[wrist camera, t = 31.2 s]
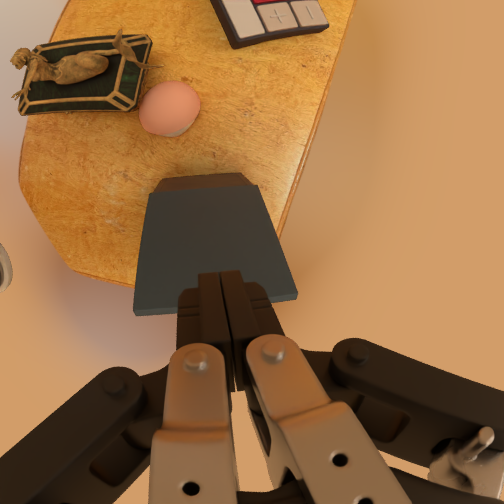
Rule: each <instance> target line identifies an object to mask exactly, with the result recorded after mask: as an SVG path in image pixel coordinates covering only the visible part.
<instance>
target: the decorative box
mask: <svg viewBox="0 0 504 504" xmlns="http://www.w3.org/2000/svg"><path fill="white" fill-rule="evenodd" d="M152 44H153V43H152V40H151V39H150V38H149V37H148V35H142V34H133V35H122V29H120V30H119V31H118V33H117V35H106V36H94V37H84V38H76V39H69V40H63V41H57V42H52V43H47V44H42V45H37V46H36V47H35V48H34V49H33V50H32V52H30V50H29V49H27V48H20V49H18V50H17V51H16V52H15V54H14V56H13V57H12V59H11V60H10V62H12V63H13V65H15V67H16V68H17V69H19V70H20V69H21V68H22V67H23V66H24V65H26V66H27V68H26V72H25V76H24V80H23V85H22V89H21V90H20V91H19V92H17V93H15V94H14V95H13V96H12V98H14V97H15V95H16V96H17V95H18V96H17V97H16V99H17V98H18V97H19V96H20V100H19V106H18V111H19V113H20V115H21V116H26V115H35V114H46V113H61V112H66V114H68V112H70V114H72V112H96V111H99V112H130V111H135V110H136V109H138V108H139V107H140V103H141V101H142V96H143V91H144V87H145V82H146V78H147V74H148V70H149V69H153V68H159V67H164V66H165V65H149V63H148V62H147V61H148V58H149V54H150V50H151V47H152ZM16 99H15V100H16Z"/></svg>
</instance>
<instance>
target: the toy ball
mask: <svg viewBox="0 0 504 504" xmlns="http://www.w3.org/2000/svg"><path fill="white" fill-rule="evenodd" d="M200 105H201V104H200V99H199V97H198V95H197V93H196V92H195V91H194V90H193V89H192V88H191V87H190V86H189V85H187V84H185V83H183V82H179V81H165V82H162V83H159V84H157V85H155V86H154V87H152V88H151V89H150V90H149V91H148V92H147V93H146V94H145V95H144V97H143V99H142V101H141V103H140V107H139V118H140V122H141V125H142V127H143V128H144V129H145V130H146V131H147V132H149V133H152V134H157V135H160V136H164V137H177V136H179V135H181V134H183V133H184V132H185V131H186V130H187V129H188V128H189V127H190V126H191V125H192V123H193V122H194V121H195V119H196V118H197V116H198V114H199V112H200Z"/></svg>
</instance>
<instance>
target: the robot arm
mask: <svg viewBox="0 0 504 504" xmlns="http://www.w3.org/2000/svg"><path fill="white" fill-rule="evenodd" d="M219 279H220V281H219ZM3 281H4V271H3V267H2V264H1V262H0V286H1V285H2V284H3ZM177 317H178V318H177V341H176V352H174V354H173V355H172V356H171V358H170V362H169V364H168V365H167V366H165V367H164V368H162V369H160V370H158V371H156V372H153V373H150V374H147V375H143V376H140V377H139V375H138V374H137V373H136V372H135V371H133V370H132V369H129V368H126V367H112V368H109V369H106V370H104V371H102V372H101V373H99V374H98V375H97V376H96V377H95V378H93V379H92V380H91V381H90V382H89V383H88V384H86V385H85V386H84V387H83V388H82V389H80V390H79V391H78V392H77V393H76V394H74V395H73V396H72V397H71V398H70V399H69V400H67V401H66V402H65V403H64V404H63V405H62V406H60V407H59V408H58V409H57V410H56V411H54V413H52V414H51V415H50V416H49V417H47V418H46V419H45V420H44V421H43V422H42V423H40V424H39V425H38V426H37V427H36V428H34V429H33V430H32V431H31V432H30V433H29V434H27V435H26V436H25V437H24V438H23V439H21V440H20V441H19V442H18V443H17V444H16V445H15V446H14V447H12V448H11V449H10V450H9V451H7V452H6V453H5V454H4V455H3V456H2V457H1V458H0V504H113V503H114V502H115V501H116V500H117V499H118V498H119V497H120V495H122V494H123V493H124V492H125V491H126V489H128V487H129V486H130V485H131V484H132V483H133V482H134V481H135V480H136V479H137V478H138V477H139V476H140V475H141V474H142V473H143V472H144V470H145V469H146V468H147V467H148V466H149V465H150V475H149V476H150V477H149V499H148V500H149V501H148V502H149V503H148V504H504V501H502V500H500V499H499V498H500V495H501V491H502V488H503V483H504V391H501V390H498V389H495V388H492V387H489V386H486V385H483V384H480V383H477V382H474V381H471V380H469V379H466V378H463V377H460V376H457V375H455V374H452V373H449V372H446V371H444V370H441V369H438V368H436V367H433V366H430V365H428V364H425V363H422V362H419V361H417V360H414V359H412V358H409V357H407V356H404V355H401V354H399V353H397V352H394V351H391V350H389V349H387V348H384V347H382V346H379V345H377V344H374V343H371V342H369V341H367V340H364V339H359V338H349V339H345V340H342V341H340V342H338V343H337V344H336V345H335V346H334V348H333V351H332V352H319V351H317V352H316V351H308V350H304V349H300V348H299V346H298V345H297V344H296V343H295V342H294V341H293V340H292V339H290V338H288V337H286V336H285V334H284V332H283V329H282V328H281V325H280V323H279V321H278V318H277V316H276V314H275V311H274V309H273V307H272V304H271V302H270V300H269V298H268V295H267V293H266V291H265V289H264V288H263V287H262V286H261V285H259V284H258V283H257V282H246V283H244V282H243V279H242V275H241V272H240V270H229V271H219V276H218V272H209V273H199V274H198V287H197V288H186V289H184V290H183V291H182V293H181V294H180V296H179V297H178V311H177ZM234 378H235V382H236V386H237V391H244V390H245V393H246V397H247V401H248V412H249V415H250V418H251V421H252V424H253V427H254V429H255V432H256V435H257V438H258V440H259V443H260V446H261V449H262V452H263V454H264V457H265V460H266V463H267V468H268V473H269V476H270V479H271V482H272V485H273V487H274V490H272V491H269V492H245V491H240V487H239V479H238V472H237V465H236V457H235V448H234V439H233V430H232V419H231V412H232V401H231V392H235V384H234ZM377 449H378V450H380V451H383V452H385V453H388V454H390V455H393V456H395V457H398V458H401V459H403V460H406V461H409V462H411V463H414V464H417V465H420V466H423V467H427V468H429V469H430V472H429V473H428V480H429V481H428V480H426V479H423V478H420V477H417V476H414V475H412V474H409V473H407V472H404V471H402V470H399V469H396V468H393V467H389V466H388V465H387V464H386V462H385V460H384V459H383V457H382V456H381V454H380V453H379V451H378V450H377Z"/></svg>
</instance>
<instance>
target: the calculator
mask: <svg viewBox="0 0 504 504" xmlns="http://www.w3.org/2000/svg"><path fill="white" fill-rule="evenodd" d="M210 1H211V3H212V5H213V7H214V9H215V12H216V14H217V16H218V18H219V20H220V22H221V24H222V27H223V29H224V31H225V33H226V35H227V38H228V40H229V42H230V45H231V47H232V48H233V49H238V48H242V47H246V46H250V45H254V44H258V43H260V42H263V41H268V40H273V39H278V38H284V37H290V36H296V35H303V34H311V33H320V32H322V31H324V30H325V29H327V28H329V24H328V21H327V19H326V17H325V15H324V13H323V11H322V9H321V7H320V5H319V3H318V1H317V0H210Z"/></svg>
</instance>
